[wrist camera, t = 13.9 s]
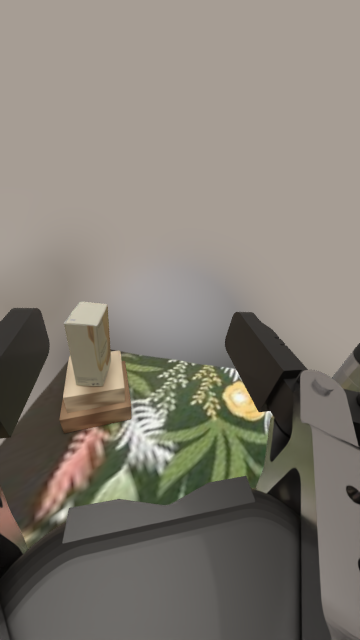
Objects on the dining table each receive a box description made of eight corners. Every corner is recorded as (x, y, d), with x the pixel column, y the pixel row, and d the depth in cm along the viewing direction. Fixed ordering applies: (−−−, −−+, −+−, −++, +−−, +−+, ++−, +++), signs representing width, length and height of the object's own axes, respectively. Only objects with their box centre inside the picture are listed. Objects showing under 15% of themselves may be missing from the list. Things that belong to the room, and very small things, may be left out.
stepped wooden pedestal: (125, 373, 47) (124, 346, 42) (131, 419, 38) (131, 391, 34) (70, 381, 43) (64, 353, 39) (64, 433, 35) (54, 404, 30)
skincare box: (103, 387, 34) (96, 327, 27) (75, 386, 33) (61, 324, 27) (112, 359, 39) (108, 302, 32) (88, 357, 39) (79, 300, 32)
